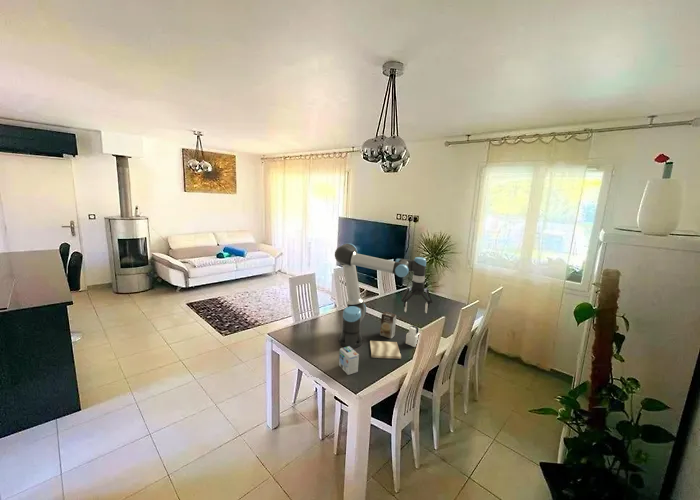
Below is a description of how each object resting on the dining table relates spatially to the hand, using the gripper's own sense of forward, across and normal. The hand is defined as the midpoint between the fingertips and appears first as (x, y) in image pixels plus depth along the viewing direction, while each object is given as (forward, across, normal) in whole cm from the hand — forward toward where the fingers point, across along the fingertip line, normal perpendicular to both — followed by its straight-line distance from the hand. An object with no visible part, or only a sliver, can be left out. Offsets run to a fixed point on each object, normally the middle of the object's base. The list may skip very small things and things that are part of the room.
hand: (415, 312), depth 197 cm
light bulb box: (+23, -43, -33) cm, 59 cm away
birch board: (+23, -20, -11) cm, 32 cm away
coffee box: (+23, -16, +10) cm, 30 cm away
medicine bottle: (+23, 0, 0) cm, 23 cm away
